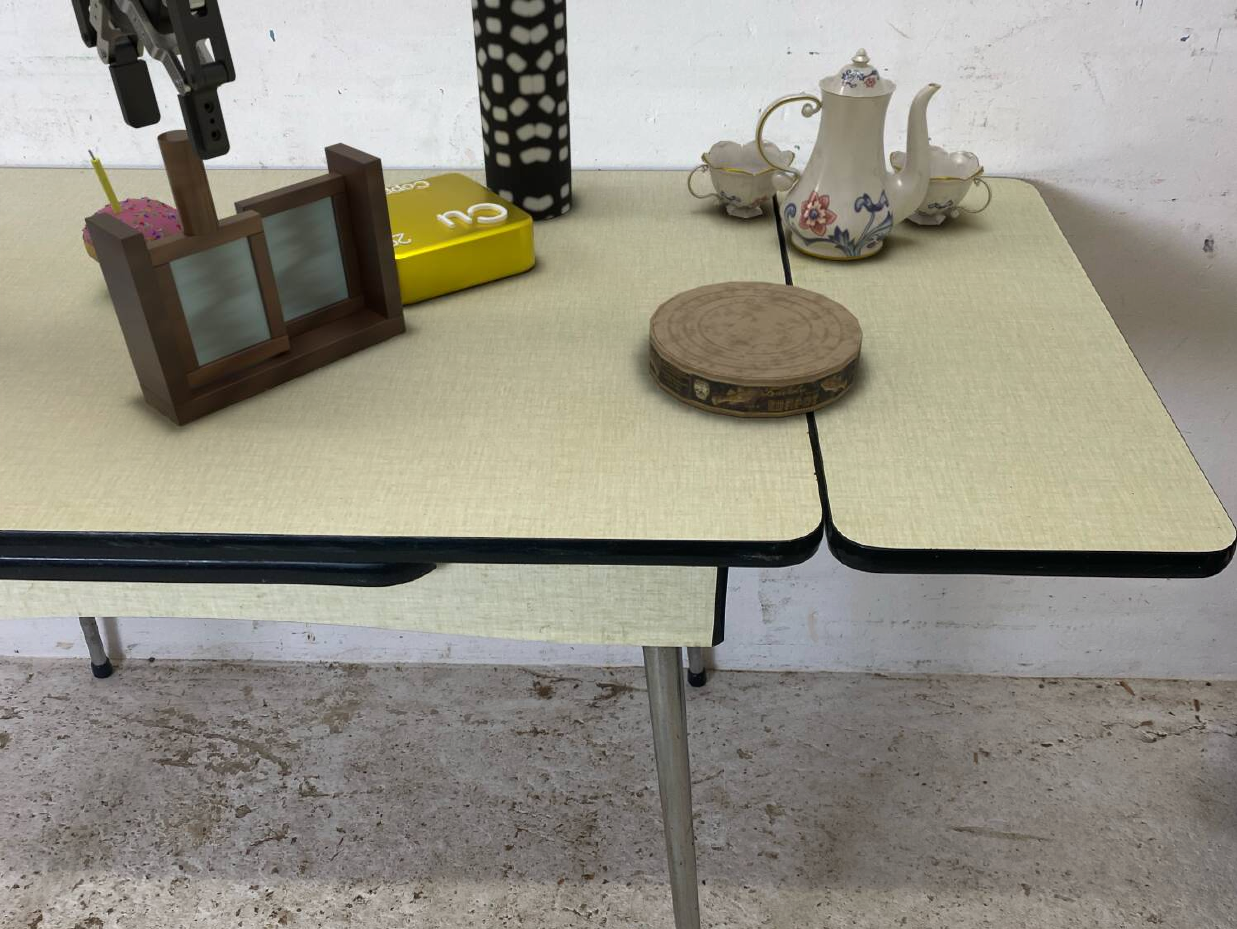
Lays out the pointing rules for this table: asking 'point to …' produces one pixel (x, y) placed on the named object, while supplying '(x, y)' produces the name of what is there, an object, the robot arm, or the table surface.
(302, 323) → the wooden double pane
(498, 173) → the spotted tube
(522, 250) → the element tile
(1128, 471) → the table surface
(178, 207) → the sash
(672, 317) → the brown flat banded disc
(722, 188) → the chinaware
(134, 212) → the cupcake
